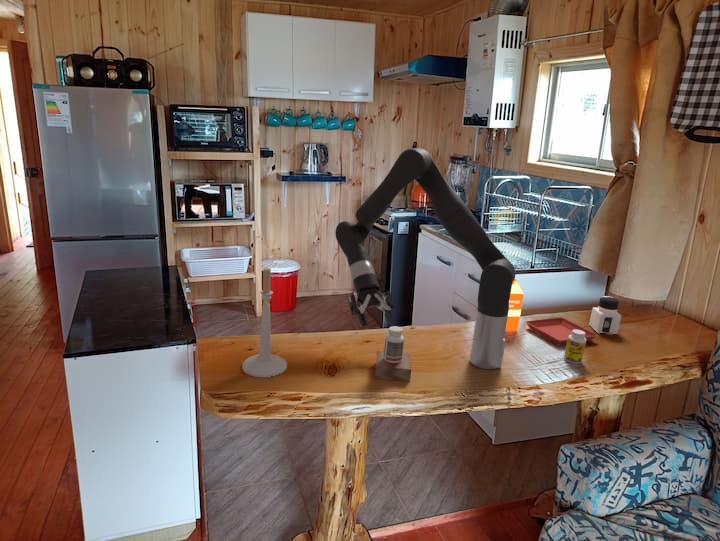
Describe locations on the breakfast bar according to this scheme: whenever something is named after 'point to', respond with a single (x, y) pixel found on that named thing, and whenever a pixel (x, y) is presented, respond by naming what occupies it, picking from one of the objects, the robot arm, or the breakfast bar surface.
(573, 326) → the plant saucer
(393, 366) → the walnut base
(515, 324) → the orange juice
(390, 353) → the pill bottle
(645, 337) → the breakfast bar surface
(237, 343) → the breakfast bar surface
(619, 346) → the breakfast bar surface
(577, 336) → the supplement bottle
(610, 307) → the container
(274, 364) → the grey pole stand
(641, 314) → the breakfast bar surface
